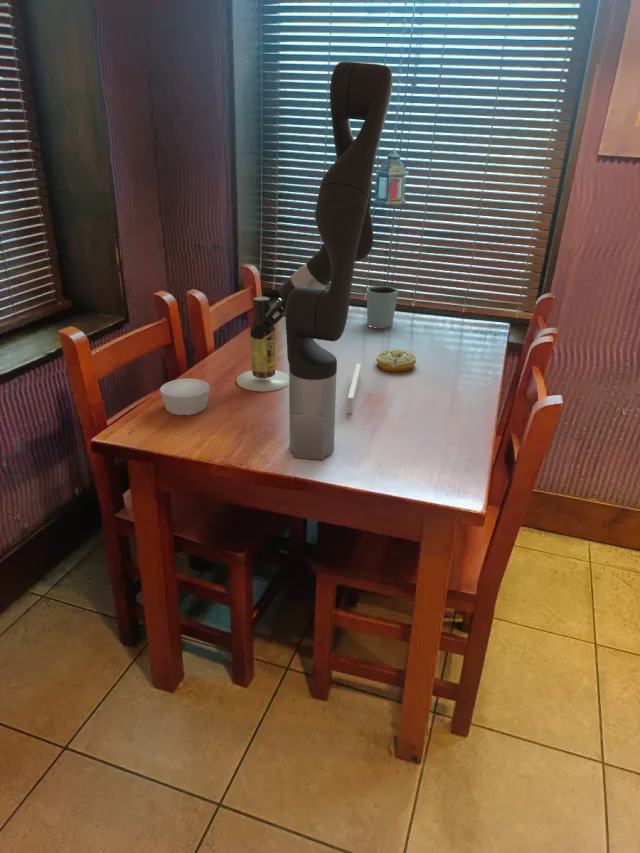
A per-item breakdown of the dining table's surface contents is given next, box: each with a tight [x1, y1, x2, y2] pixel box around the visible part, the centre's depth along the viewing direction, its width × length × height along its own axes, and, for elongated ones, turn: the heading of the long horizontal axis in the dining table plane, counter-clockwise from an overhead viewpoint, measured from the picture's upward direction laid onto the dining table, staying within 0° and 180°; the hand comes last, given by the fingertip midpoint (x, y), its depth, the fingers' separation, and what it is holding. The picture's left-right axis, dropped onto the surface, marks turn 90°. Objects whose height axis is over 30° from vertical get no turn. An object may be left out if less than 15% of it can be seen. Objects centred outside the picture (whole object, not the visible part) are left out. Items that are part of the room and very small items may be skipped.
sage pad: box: [236, 369, 289, 393], centre depth 155 cm, size 14×14×1 cm
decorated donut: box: [375, 348, 417, 373], centre depth 166 cm, size 10×11×4 cm
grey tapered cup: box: [366, 285, 399, 329], centre depth 196 cm, size 10×10×12 cm
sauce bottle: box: [249, 296, 277, 378], centre depth 149 cm, size 6×6×20 cm
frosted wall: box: [346, 362, 362, 415], centre depth 147 cm, size 22×1×4 cm, turn 172°
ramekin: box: [159, 378, 211, 416], centre depth 139 cm, size 11×11×5 cm
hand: (256, 331), depth 149 cm, fingers closed on sauce bottle, 6 cm apart
